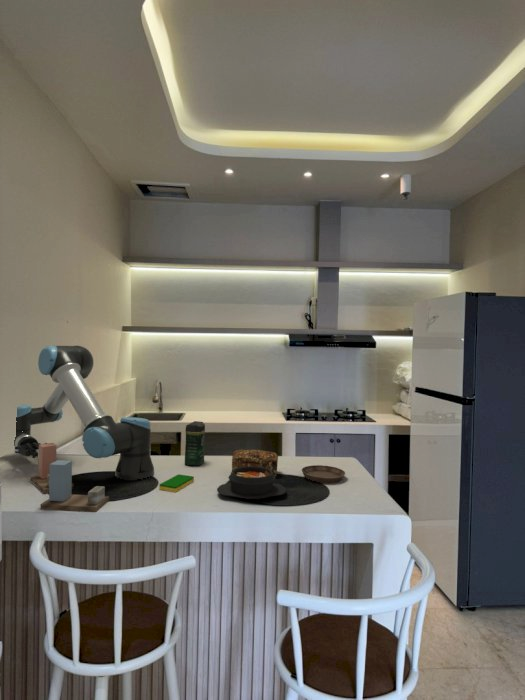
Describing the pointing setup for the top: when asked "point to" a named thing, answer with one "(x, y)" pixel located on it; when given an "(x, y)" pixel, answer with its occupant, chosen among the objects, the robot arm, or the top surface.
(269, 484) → the casserole
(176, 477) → the dish sponge
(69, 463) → the slate blue block
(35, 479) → the brown piece
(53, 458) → the terracotta tall block
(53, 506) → the wooden board with block
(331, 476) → the plant saucer
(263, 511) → the top surface
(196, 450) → the coffee jar
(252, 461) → the bread
